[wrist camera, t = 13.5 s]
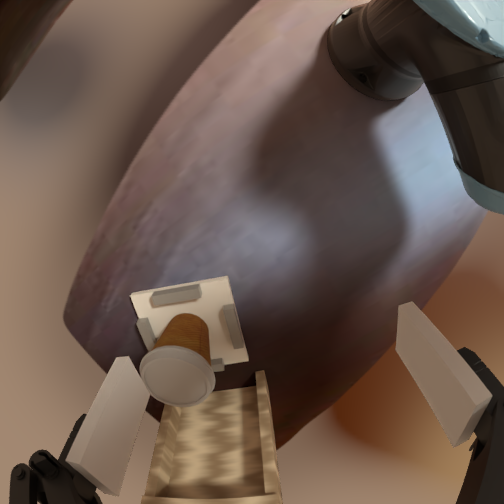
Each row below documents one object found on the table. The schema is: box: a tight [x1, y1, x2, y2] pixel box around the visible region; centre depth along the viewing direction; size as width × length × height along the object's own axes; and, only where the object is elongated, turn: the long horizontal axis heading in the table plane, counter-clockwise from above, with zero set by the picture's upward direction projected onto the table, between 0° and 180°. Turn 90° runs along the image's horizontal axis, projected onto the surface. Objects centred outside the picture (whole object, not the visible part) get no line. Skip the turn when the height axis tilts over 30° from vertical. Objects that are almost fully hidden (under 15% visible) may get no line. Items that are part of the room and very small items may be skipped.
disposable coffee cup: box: [140, 313, 215, 407], centre depth 37 cm, size 10×10×12 cm
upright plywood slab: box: [141, 370, 283, 504], centre depth 34 cm, size 17×6×30 cm, turn 101°
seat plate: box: [130, 276, 249, 372], centre depth 42 cm, size 15×15×2 cm
